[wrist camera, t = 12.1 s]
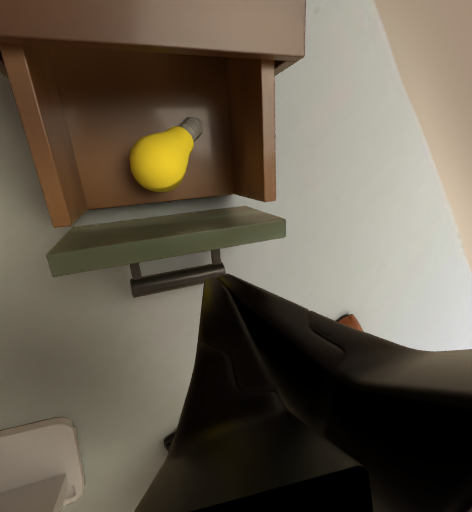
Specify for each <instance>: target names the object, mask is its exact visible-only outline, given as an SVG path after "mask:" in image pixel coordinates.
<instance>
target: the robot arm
mask: <svg viewBox="0 0 472 512" xmlns="http://www.w3.org/2000/svg"><path fill="white" fill-rule="evenodd" d="M164 446H165V448H166V449H167V451H168V452H169V453H168V456H167V458H166V460H165V462H164V464H163V466H162V467H161V469H160V470H159V472H158V474H157V475H156V477H155V478H154V480H153V482H152V483H151V485H150V486H149V488H148V490H147V491H146V493H145V495H144V496H143V498H142V499H141V501H140V503H139V504H138V506H137V507H136V509H135V511H134V512H472V349H468V350H454V351H437V352H433V351H422V350H416V349H411V348H408V347H404V346H401V345H399V344H396V343H393V342H390V341H388V340H385V339H382V338H379V337H376V336H374V335H371V334H368V333H365V332H363V331H360V330H357V329H354V328H352V327H349V326H347V325H344V324H341V323H339V322H336V321H334V320H331V319H329V318H327V317H324V316H322V315H320V314H317V313H315V312H313V311H309V310H308V309H306V308H304V307H302V306H299V305H297V304H295V303H293V302H291V301H288V300H286V299H284V298H282V297H279V296H277V295H275V294H273V293H270V292H268V291H266V290H264V289H262V288H259V287H257V286H255V285H253V284H250V283H248V282H246V281H244V280H241V279H239V278H237V277H235V276H233V275H230V274H224V275H219V276H218V277H216V276H214V277H210V278H205V280H204V288H203V297H202V306H201V316H200V325H199V334H198V343H197V351H196V358H195V364H194V369H193V373H192V378H191V382H190V386H189V389H188V392H187V396H186V399H185V403H184V406H183V410H182V413H181V417H180V420H179V424H178V427H177V430H176V433H174V434H172V435H170V436H169V437H167V438H166V439H165V440H164Z"/></svg>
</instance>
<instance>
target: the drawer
mask: <svg viewBox="0 0 472 512" xmlns="http://www.w3.org/2000/svg"><path fill="white" fill-rule="evenodd" d="M0 51H1V54H2V58H3V61H4V64H5V68H6V71H7V74H8V78H9V81H10V84H11V88H12V91H13V94H14V98H15V101H16V104H17V108H18V111H19V114H20V118H21V121H22V124H23V128H24V131H25V134H26V138H27V141H28V144H29V148H30V151H31V154H32V158H33V161H34V164H35V168H36V171H37V174H38V178H39V181H40V184H41V188H42V191H43V194H44V198H45V201H46V204H47V208H48V211H49V214H50V218H51V221H52V224H53V227H54V228H56V227H64V226H71V225H72V224H74V223H75V222H76V221H77V220H78V219H79V218H80V217H81V216H82V215H83V214H84V213H85V212H86V211H87V210H91V209H100V208H110V207H119V206H128V205H138V204H147V203H156V202H166V201H175V200H184V199H194V198H203V197H212V196H222V195H231V194H235V195H239V196H243V197H247V198H251V199H255V200H259V201H263V202H270V201H276V165H275V80H274V60H266V59H250V58H234V57H218V56H202V55H186V54H170V53H154V52H138V51H122V50H106V49H90V48H74V47H58V46H42V45H26V44H10V43H0ZM190 116H191V117H194V118H198V119H200V121H201V123H202V129H203V132H202V135H200V137H199V138H198V139H197V140H195V142H194V147H193V150H192V152H191V154H190V155H189V159H188V164H187V168H186V172H185V175H184V178H183V180H182V181H181V183H180V185H178V186H177V187H176V188H175V189H173V190H171V191H168V192H155V191H151V190H148V189H146V188H144V187H143V186H141V185H140V184H139V183H138V182H137V181H136V179H135V178H134V176H133V174H132V172H131V167H130V158H129V157H130V153H131V148H132V147H133V145H134V144H135V142H136V141H137V140H139V139H140V138H142V137H143V136H147V135H150V134H155V133H160V132H165V131H166V130H168V129H169V128H171V127H174V126H179V125H180V124H181V123H182V122H183V121H184V119H186V117H190ZM284 237H286V219H283V218H280V217H277V216H274V215H271V214H268V213H265V212H262V211H259V210H256V209H253V208H250V207H247V206H241V207H233V208H225V209H217V210H209V211H201V212H193V213H184V214H176V215H168V216H160V217H152V218H144V219H136V220H128V221H120V222H112V223H104V224H96V225H87V226H79V227H73V228H72V229H71V230H70V231H69V232H68V233H67V234H66V235H65V236H64V237H63V238H62V239H61V240H60V241H59V242H58V243H57V244H56V245H55V246H54V247H53V248H52V249H51V250H50V251H49V252H48V253H47V254H46V257H47V260H48V263H49V266H50V270H51V273H52V276H53V277H57V276H63V275H69V274H75V273H80V272H86V271H92V270H98V269H104V268H109V267H115V266H121V265H127V264H130V269H131V273H132V278H133V279H130V284H131V290H132V295H133V297H134V298H136V297H141V296H146V295H150V294H155V293H160V292H165V291H169V290H174V289H179V288H184V287H188V286H193V285H198V284H203V283H204V280H205V278H210V277H214V276H216V277H218V276H219V275H224V274H226V273H225V268H224V265H223V263H222V262H221V259H220V248H226V247H232V246H238V245H243V244H249V243H255V242H261V241H267V240H272V239H278V238H284ZM208 250H211V258H212V263H213V264H208V265H202V266H197V267H192V268H186V269H181V270H176V271H170V272H165V273H160V274H155V275H149V276H144V277H141V271H140V266H139V262H144V261H150V260H156V259H162V258H168V257H174V256H179V255H185V254H191V253H197V252H203V251H208Z"/></svg>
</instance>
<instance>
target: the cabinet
mask: <svg viewBox="0 0 472 512" xmlns="http://www.w3.org/2000/svg"><path fill="white" fill-rule="evenodd" d="M305 11H306V0H0V43H10V44H26V45H42V46H58V47H74V48H90V49H106V50H122V51H138V52H154V53H170V54H186V55H202V56H218V57H234V58H250V59H266V60H274V76H276V75H277V74H279V73H280V72H282V71H283V70H285V69H286V68H288V67H290V66H291V65H293V64H294V63H296V62H297V61H299V60H300V59H302V58H303V57H304V56H305ZM0 73H2V74H3V75H4V76H6V77H7V78H8V74H7V71H6V68H5V64H4V61H3V58H2V54H1V51H0ZM8 79H9V78H8Z"/></svg>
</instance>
